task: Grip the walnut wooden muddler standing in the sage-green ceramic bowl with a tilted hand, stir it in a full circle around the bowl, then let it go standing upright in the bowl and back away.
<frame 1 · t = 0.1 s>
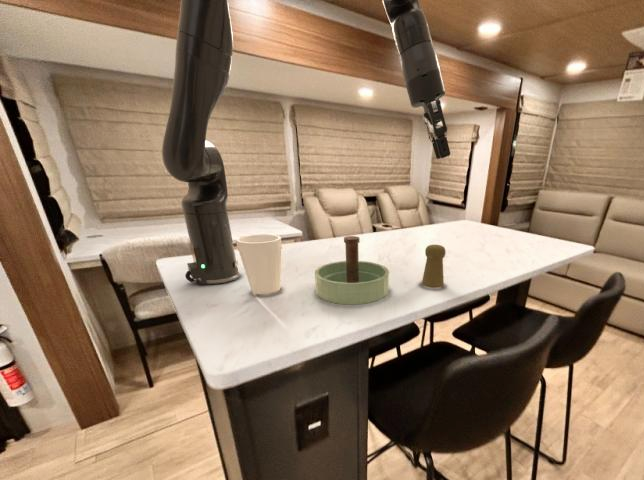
hand: (443, 157, 70), 31 cm above the table, tool tilted 20°, fingers open, 8 cm apart
bowl: (353, 292, 77), on the table
muddler: (352, 289, 77), point 1 cm above the table, touching bowl
foam cup: (266, 292, 75), on the table
cork: (432, 286, 83), on the table
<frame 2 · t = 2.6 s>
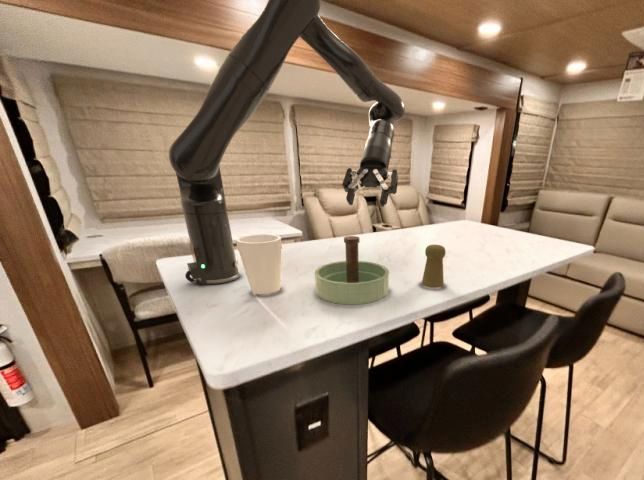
hand: (365, 204, 79), 20 cm above the table, tool tilted 45°, fingers open, 8 cm apart
nothing on the table moved.
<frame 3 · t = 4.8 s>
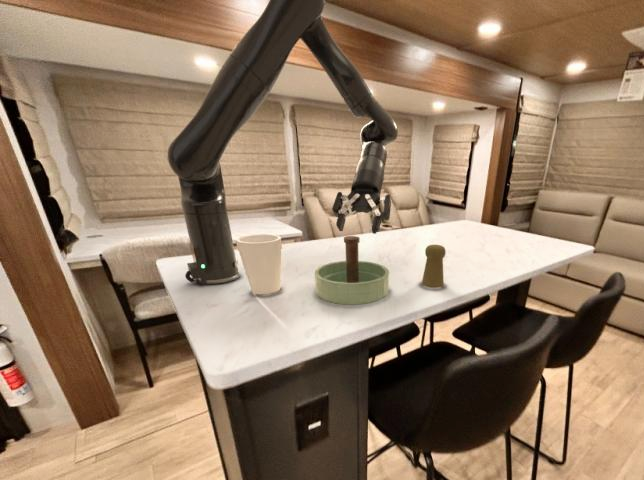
hand: (356, 230, 75), 14 cm above the table, tool tilted 45°, fingers open, 8 cm apart
nothing on the table moved.
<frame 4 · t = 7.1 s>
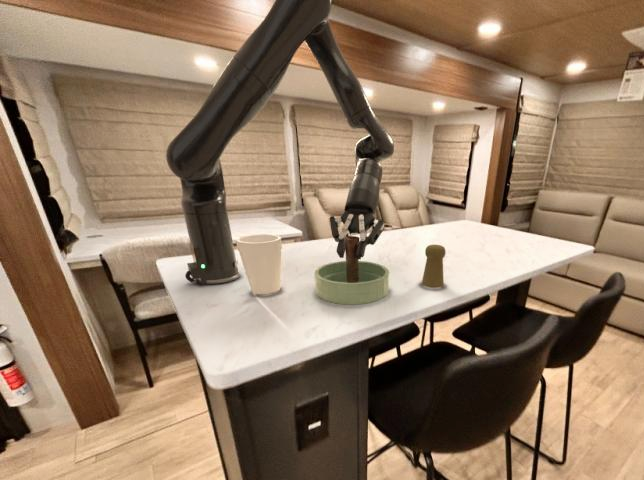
hand: (349, 256, 71), 10 cm above the table, tool tilted 45°, fingers closed on muddler, 3 cm apart
muddler: (352, 289, 77), point 1 cm above the table, touching bowl, gripper
everything else where it was.
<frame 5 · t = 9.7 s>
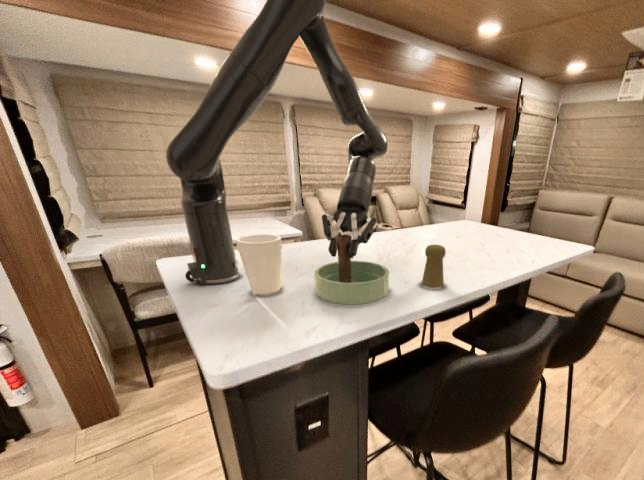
hand: (341, 255, 70), 10 cm above the table, tool tilted 45°, fingers closed on muddler, 3 cm apart
muddler: (345, 289, 76), point 1 cm above the table, touching gripper
everything else where it was.
when the fingers open (10 cm above the table, at t = 12.8 s): muddler stays where it is, resting on bowl.
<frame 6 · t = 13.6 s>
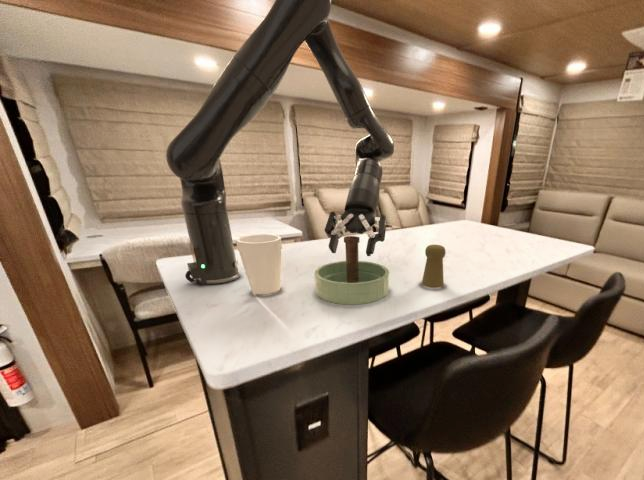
hand: (350, 253, 71), 10 cm above the table, tool tilted 45°, fingers open, 8 cm apart
muddler: (352, 289, 77), point 1 cm above the table, touching bowl
everything else where it was.
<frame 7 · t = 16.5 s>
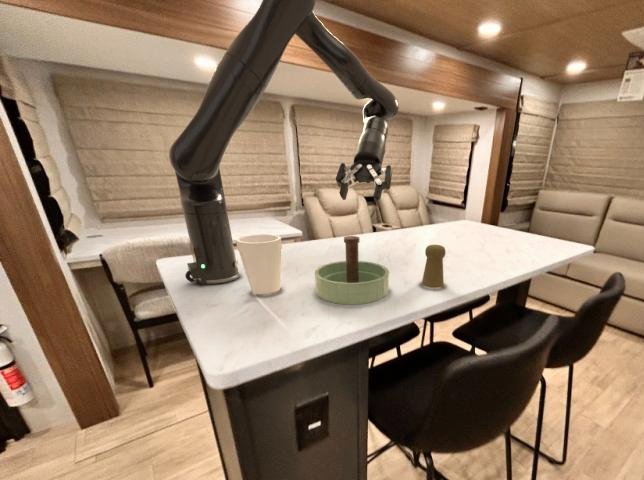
hand: (359, 198, 79), 21 cm above the table, tool tilted 45°, fingers open, 8 cm apart
nothing on the table moved.
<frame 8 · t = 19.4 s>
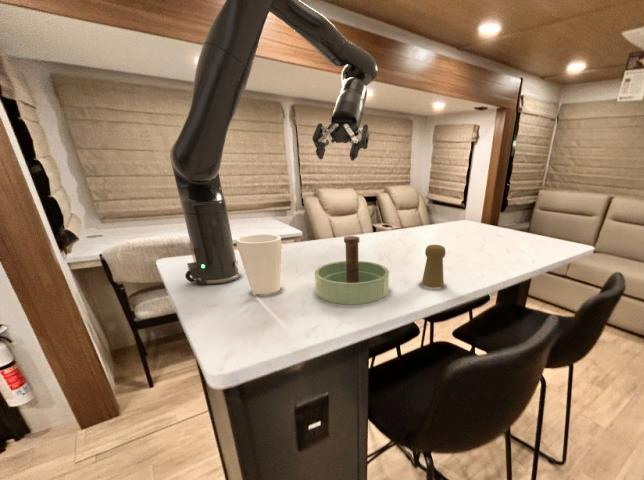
hand: (335, 157, 78), 31 cm above the table, tool tilted 45°, fingers open, 8 cm apart
nothing on the table moved.
at the end: muddler inside the target area in the bowl (0.0 cm from its centre), point 0.6 cm above the bowl's base; muddler tilted 0°; the gripper is holding nothing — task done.
